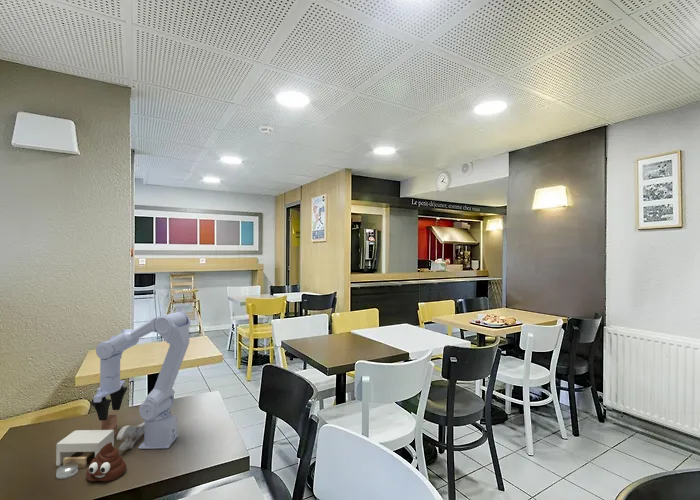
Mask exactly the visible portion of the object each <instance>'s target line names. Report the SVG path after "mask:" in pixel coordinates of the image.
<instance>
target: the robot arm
mask: <svg viewBox="0 0 700 500" xmlns="http://www.w3.org/2000/svg"><path fill="white" fill-rule="evenodd" d="M191 323H192V322H191V319H190V318H189V316H188V315H187V313H186V312H184V311H182V310H177V311H174V312H173V313H167V314H162V315H160V316H158V317H155V318H152V319H149V321H147V322H145V323H144V324H142V325H140V326H138V327H137V328H135V329H133V328H132V329H127V328H126V329H122V330H121V331H120V333H118V334H117V335H112V336H111V337H110V339H109V340H106V341H101V342H99V343H98V344H97V345H96V348H95V353H96V356H97V358H99V360H100V361H99V367H100V369H99V387H97V388H96V391H97V393H96V394H95V395H94V396H93V399H92V400H91V401H90V403H91V405H92V407H94V409H95V411H96V414H97V418H98V420H99V421H102V420H107V417H108V415H109V409H110V406H111V408H112V411H119V410H121V406H122V402H123V400H124V397H125V394H126V393H127V391H128V387H126V386H125V385H126V380H124V379H123V380H121V360H122V356H123V355H122V354H123V353H124V352H125V351H126V350H128V349H130V348H132V347H134V346H135V345H136V346H137V344H138V343H139V341H140V338H143V337H144V336H147V335H149V334H151V333H158V335H159V336H160V337H161V338H163V340H164V341H165V342H166V343H167V344H168V345H169V347H168V350H167V352H166V355H165V358H164V360H163V363H162V366H161V368H160V371H159V374H158V375H157V378H156V379H157V380H156V381H155V384H154V387H153V389H152V390H151V391H150V392H149V393H148V394H147V396H146V398H145V400H144V401H143V402H142V403H141V404H140V405H139V408H138V409H139V410H138V412H139V413H138V414H139V415H140V417H141V418H142V419H143V422H145V425H144V433H143V434H144V436H143V438H144V439H143V442H142V443H140V445H139V446H138V449H139V450H142V449H143V450H146V449H147V450H149V449H152V450H155V449H156V450H157V449H169V448H170V447H171V446H172V444H173V443H174V442H175V440H176V439H177V438H178V436H179V435H178V416H177V415H176V414H175V415H174V414H172V413H171V414H169V412H170V409H171V408H172V407H173V406H174V401H175V399H174V398H175V397H174V396H175V393H176V392H175V390H174V389H173V388H174V385H175V381H176V379H177V376H178V375H179V371H180V368H181V366H182V363H183V362H184V358H185V355H186V352H187V351H188V347H189V345H190V329H189V327H190V325H191ZM108 396H109V397H110V399H108V398H107V397H108Z"/></svg>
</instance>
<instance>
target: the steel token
mask: <svg viewBox="0 0 700 500" xmlns="http://www.w3.org/2000/svg"><path fill="white" fill-rule="evenodd" d="M55 470H56V472H55V473H56V474H55V475H56V479H57V480H65V479H69V478H72V477H74V476H75V475H76V474H78V472H79V468H78V463H76V462H72V463H67V464H64V465H63V464H61V465H60V466H58V467H57V468H56V469H55Z"/></svg>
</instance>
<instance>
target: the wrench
mask: <svg viewBox="0 0 700 500" xmlns="http://www.w3.org/2000/svg"><path fill="white" fill-rule="evenodd" d="M169 414H171V415H172V409H171V408H170V412H169ZM144 425H145V421H143V422H141V423H140V424H137V425H124V426H122V427H121V428H120V430H118V432H117V435H116V440H117V441H118V440H119V441H123V439H124V441H123V442H122V443H121V444H120V446H119V447H118V449H119V450H120V451H126V450H128V449H130V450H131V449H133V447H134V445H135V443H136V442H137V440H138V438H139V437H140V436H141V435H142V434H144Z"/></svg>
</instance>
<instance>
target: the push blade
mask: <svg viewBox="0 0 700 500" xmlns="http://www.w3.org/2000/svg"><path fill="white" fill-rule="evenodd" d="M101 430H114V438H115V437H117V435H118V432H117V431H118V414H108V417H107V420H101ZM93 454H95V452H82V454H81V455H80V456H71V457H65V458H64V459H63V463H62V465H64V464H67V463H72V462H76V463H78V469H85V468H86V467H87V466H88V464H87V463H88V461H87V459H88V458H90V457H91V456H92V455H93Z"/></svg>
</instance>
